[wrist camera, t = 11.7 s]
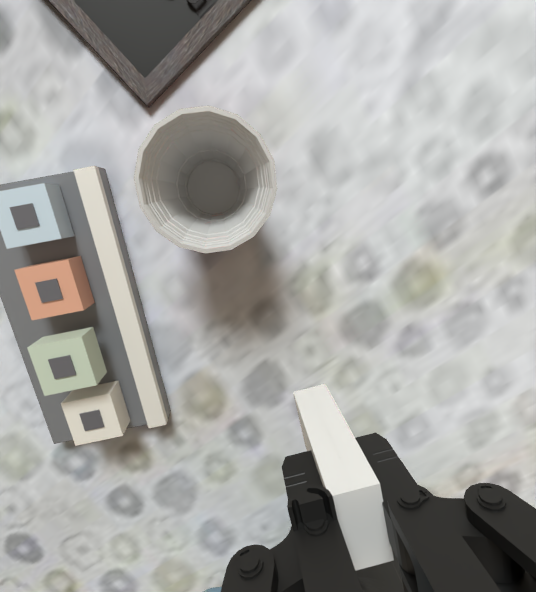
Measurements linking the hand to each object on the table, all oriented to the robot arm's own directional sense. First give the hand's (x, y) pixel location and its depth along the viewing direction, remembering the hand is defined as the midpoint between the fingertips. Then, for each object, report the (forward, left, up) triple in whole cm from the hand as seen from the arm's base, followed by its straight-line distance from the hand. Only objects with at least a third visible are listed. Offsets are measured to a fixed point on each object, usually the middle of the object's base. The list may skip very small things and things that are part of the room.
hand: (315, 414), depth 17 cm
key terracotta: (+5, +20, -25) cm, 32 cm away
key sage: (-2, +20, -23) cm, 30 cm away
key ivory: (-9, +20, -25) cm, 33 cm away
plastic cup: (+12, +3, -27) cm, 30 cm away
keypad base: (+2, +20, -27) cm, 34 cm away
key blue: (+12, +20, -25) cm, 34 cm away
